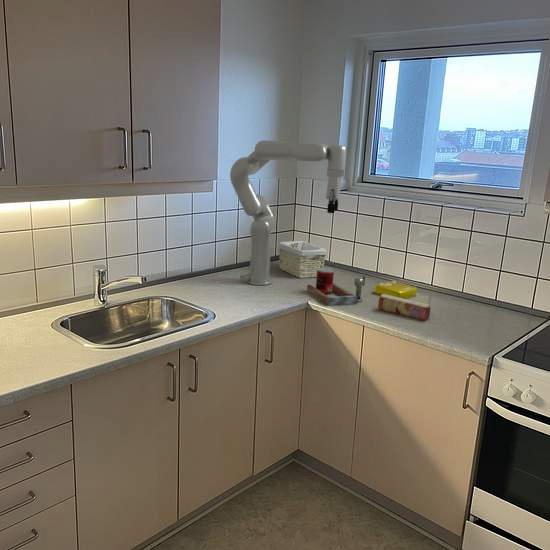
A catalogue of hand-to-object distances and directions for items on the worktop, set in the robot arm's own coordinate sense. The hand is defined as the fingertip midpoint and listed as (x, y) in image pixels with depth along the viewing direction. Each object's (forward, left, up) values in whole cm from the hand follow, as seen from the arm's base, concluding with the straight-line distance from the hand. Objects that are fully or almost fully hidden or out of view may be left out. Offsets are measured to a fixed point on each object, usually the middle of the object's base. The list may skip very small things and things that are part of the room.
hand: (332, 211), depth 251 cm
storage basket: (+1, +32, -37) cm, 50 cm away
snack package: (+17, -39, -38) cm, 56 cm away
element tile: (+30, -13, -38) cm, 50 cm away
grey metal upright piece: (+6, -19, -37) cm, 42 cm away
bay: (-3, -11, -37) cm, 39 cm away
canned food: (-3, -4, -37) cm, 38 cm away
